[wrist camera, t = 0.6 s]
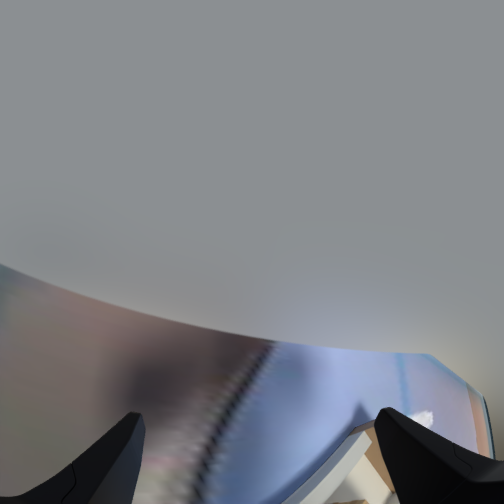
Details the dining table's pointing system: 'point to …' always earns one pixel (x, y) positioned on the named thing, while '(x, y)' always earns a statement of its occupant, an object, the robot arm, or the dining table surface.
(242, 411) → the dining table surface
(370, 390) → the dining table surface
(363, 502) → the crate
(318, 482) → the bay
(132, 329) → the dining table surface
